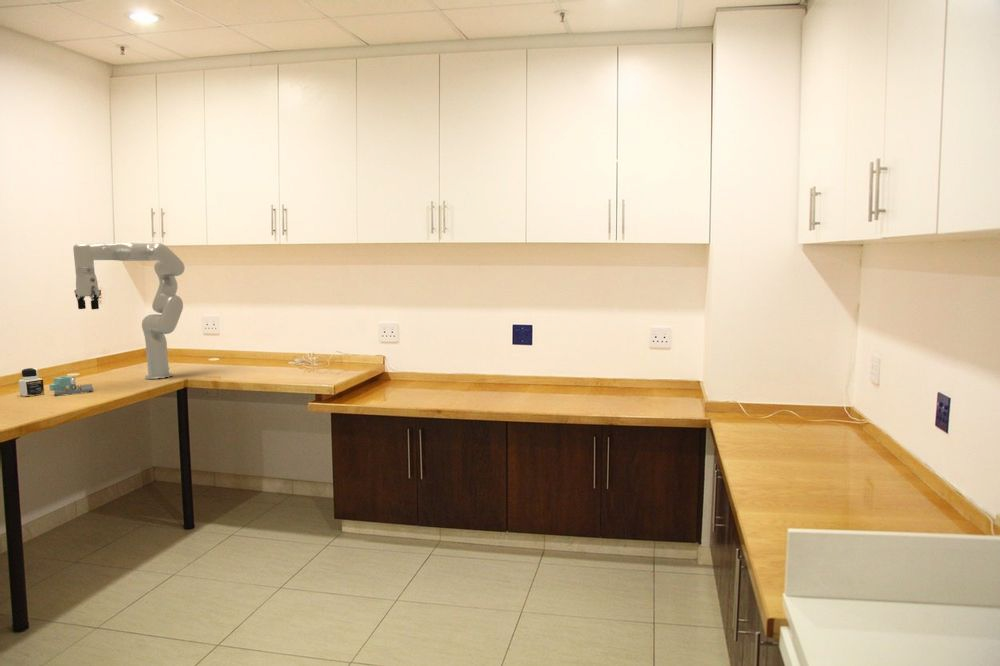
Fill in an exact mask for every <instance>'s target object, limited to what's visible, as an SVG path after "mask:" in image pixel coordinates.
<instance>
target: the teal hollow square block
mask: <svg viewBox="0 0 1000 666" xmlns="http://www.w3.org/2000/svg"><path fill="white" fill-rule="evenodd" d="M71 378H75V376H71V375H65V376H58V377H52V379H53V383H52V384H49V391H54V389H55V388H58V387H66V386H71V382H70V379H71Z"/></svg>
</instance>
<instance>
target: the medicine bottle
mask: <svg viewBox="0 0 1000 666" xmlns="http://www.w3.org/2000/svg"><path fill="white" fill-rule="evenodd" d="M38 371H39V369H38V368H36V367H35V368H34V367H30V368H23V369H21V377H22V379H19V380H18V389H19V396H20V395H22V396H21V397H25V396H31V397H34V396H33V395H36V396H39V395H38V394H42V395H45V386H44V379H43V378H40V377H39V372H38Z"/></svg>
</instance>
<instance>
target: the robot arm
mask: <svg viewBox="0 0 1000 666" xmlns="http://www.w3.org/2000/svg"><path fill="white" fill-rule="evenodd" d="M72 249H73V258H74V270H75V288H76V289H75V290H74V292H73V293H74V295H75V298H76V301H77V308H78V310H84V309H86V300H85V298H86V297H89V298H90V308H91V310H99V308H100V307H99V300H100V293H101V291H100V289H99V285H98V284H99V283H98V279H97V275H96V272H95V263H94V261H117V262H141V261H142V262H154V261H156V262H155V263H154V264H153V265H154V266H153V268H154V273H156V276H157V277H158V280H159V281H158V282H159V285H158V288H157V291H156V294H155V296H154V299H153V301H152V305H151V307H152V309H153V311H154V312H155V314H148V315H146V316H145V317H144V318H143V319H142V322H141V328H142V332H143V336H144V341H145V351H146V352H145V353H146V362H147V364H146V365H147V375H145V376H144V378H145V380H159V379H158V378H162V379H166V378H165V377H168V378H171V377H170V376H172V377H173V376H174V375H173V373H172V372H170V367H169V356H168V342H167V338H166V336H165V335H169V334H171V333H172V332H174V331H175V330H176V327H177V325H178V323H179V320H180V317H181V315H182V312H183V310H184V302H183V300H182V298H181V297H180V296H179V295H176V294H177V291H178V288H179V287H178V281H177V279H176V277H179V276H181V275H183V273H184V271H185V263H184V262H183V261H182V260H181V258H179V256H178V255H176V254H175V253H174V251H172V250H171V249H170V248H169V247H168V246H167V245H166V244H163V243H161V242H156V243H155V242H153V243H150V242H149V243H148V242H147V243H144V242H142V243H137V242H136V243H134V242H123V243H114V244H113V243H109V244H107V243H101V242H100V243H79V244H77V243H76V244H74V245H73V248H72ZM156 313H158V314H156Z"/></svg>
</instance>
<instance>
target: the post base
mask: <svg viewBox="0 0 1000 666" xmlns="http://www.w3.org/2000/svg"><path fill="white" fill-rule="evenodd" d="M70 382H71V386H66V387H58V388H55V390H53V391H54V393H53V394H54V396H55V395H60V396H63V395H62V394H69V395H73V394H72V393H78V394H82V393H81V392H87V393H90V392H89V391H93V392H94V388H93V387H94V386H93V384H92V383H88V384H87V383H86V384H78V385H77V383H76V378H75V377H74V378H71V379H70Z"/></svg>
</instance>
